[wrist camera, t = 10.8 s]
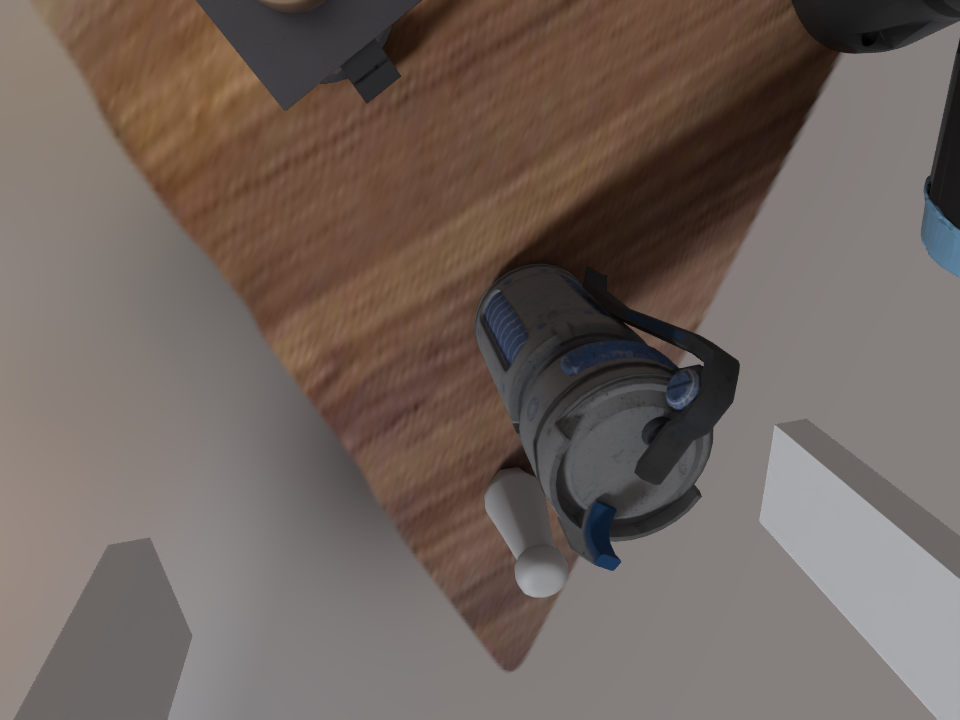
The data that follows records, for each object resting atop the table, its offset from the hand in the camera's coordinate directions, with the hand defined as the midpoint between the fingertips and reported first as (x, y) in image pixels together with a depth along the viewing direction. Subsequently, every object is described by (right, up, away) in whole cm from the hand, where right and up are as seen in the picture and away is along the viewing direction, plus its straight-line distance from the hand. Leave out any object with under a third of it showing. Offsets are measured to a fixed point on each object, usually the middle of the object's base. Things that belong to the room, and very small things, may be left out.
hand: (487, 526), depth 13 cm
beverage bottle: (+4, +8, +39) cm, 40 cm away
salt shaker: (+3, -9, +46) cm, 47 cm away
